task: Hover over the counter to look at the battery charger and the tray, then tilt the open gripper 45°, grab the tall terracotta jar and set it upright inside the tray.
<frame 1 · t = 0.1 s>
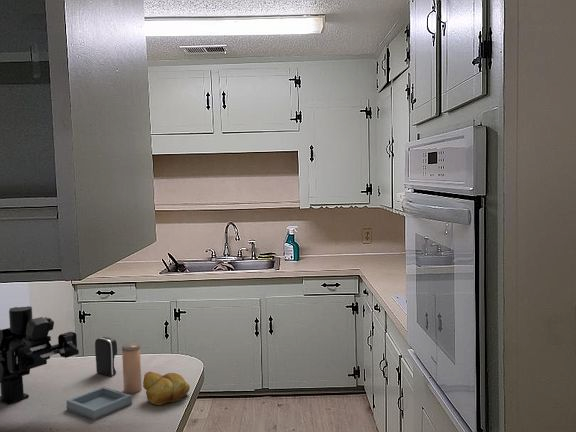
hand: (62, 356, 150), 17 cm above the countertop, tool horizontal, fingers open, 9 cm apart
tray: (99, 406, 159), on the countertop
bread roll: (168, 400, 163), on the countertop
jar: (132, 390, 170), on the countertop
battery charger: (107, 373, 185), on the countertop
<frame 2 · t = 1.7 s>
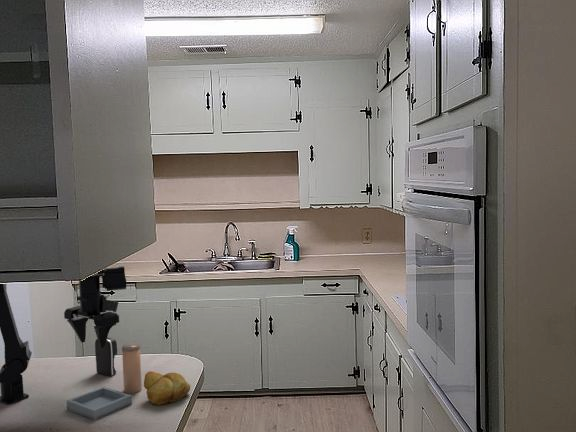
hand: (92, 344, 171), 13 cm above the countertop, tool pointing down, fingers open, 9 cm apart
nothing on the countertop moved.
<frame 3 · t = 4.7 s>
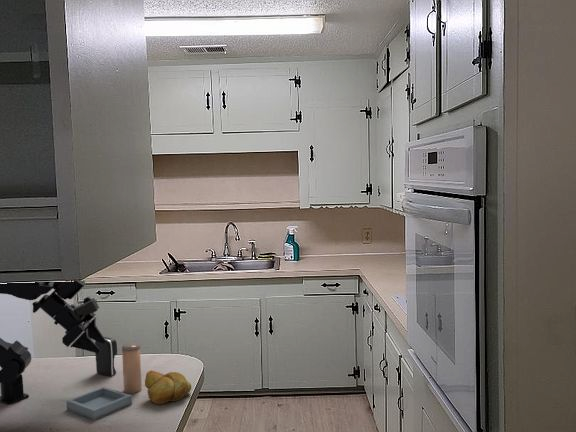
hand: (101, 346, 168), 13 cm above the countertop, tool tilted 45°, fingers open, 9 cm apart
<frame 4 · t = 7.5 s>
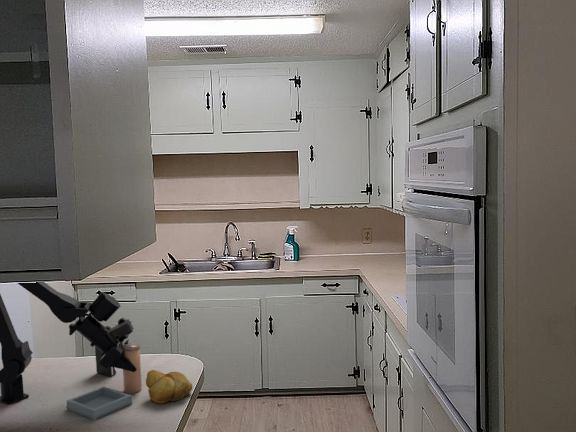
hand: (136, 367, 170), 7 cm above the countertop, tool tilted 45°, fingers closed on jar, 5 cm apart
jar: (132, 390, 170), on the countertop, touching gripper
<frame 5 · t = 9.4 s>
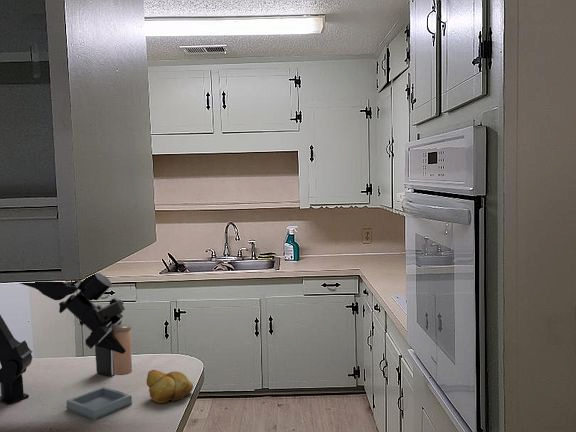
hand: (126, 349, 165), 13 cm above the countertop, tool tilted 45°, fingers closed on jar, 5 cm apart
jar: (122, 372, 166), point 7 cm above the countertop, touching gripper
when the fingers open (9 cm above the countertop, at t = 11.6 s): jar drops 2 cm, resting on tray.
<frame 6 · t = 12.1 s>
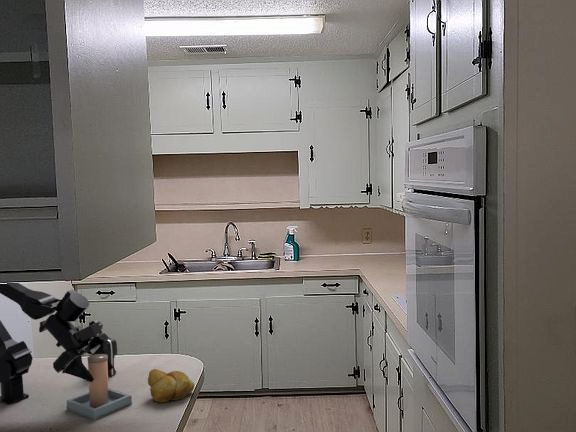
hand: (102, 374, 158), 9 cm above the countertop, tool tilted 45°, fingers open, 9 cm apart
jar: (99, 404, 159), point 1 cm above the countertop, touching tray
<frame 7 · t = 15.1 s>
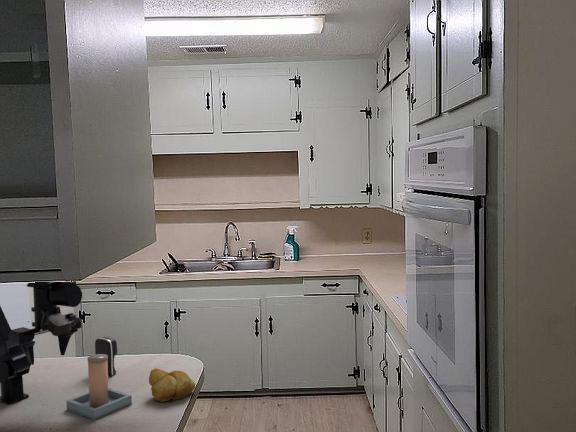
hand: (47, 359, 159), 13 cm above the countertop, tool pointing down, fingers open, 9 cm apart
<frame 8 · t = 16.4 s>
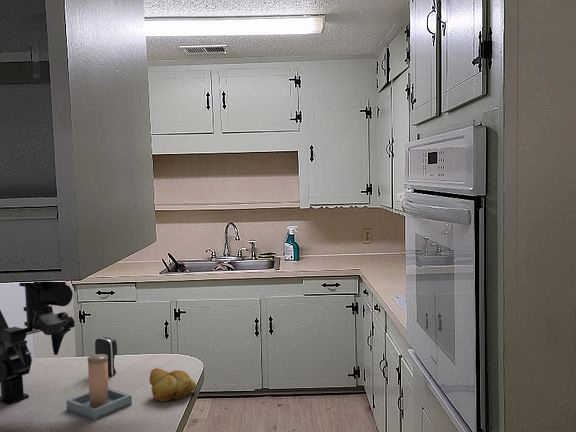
hand: (40, 359, 159), 13 cm above the countertop, tool pointing down, fingers open, 9 cm apart
at the end: jar inside the target area on the tray (0.1 cm from its centre), point 0.6 cm above the tray's base; jar tilted 1°; the gripper is holding nothing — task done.
